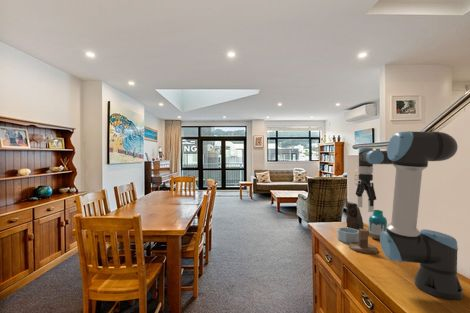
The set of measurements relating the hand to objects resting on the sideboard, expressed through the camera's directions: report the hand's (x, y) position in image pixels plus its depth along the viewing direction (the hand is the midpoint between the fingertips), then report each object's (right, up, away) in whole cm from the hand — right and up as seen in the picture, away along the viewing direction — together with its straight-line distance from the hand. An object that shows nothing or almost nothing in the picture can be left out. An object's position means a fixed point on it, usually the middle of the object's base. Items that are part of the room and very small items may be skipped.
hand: (365, 209), depth 144 cm
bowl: (-4, -23, +12) cm, 27 cm away
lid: (-3, -23, -2) cm, 23 cm away
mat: (-3, -23, -2) cm, 23 cm away
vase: (+18, -24, +17) cm, 34 cm away
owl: (+15, -24, +42) cm, 50 cm away
